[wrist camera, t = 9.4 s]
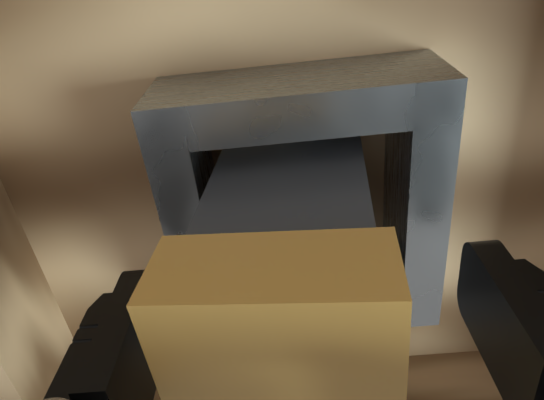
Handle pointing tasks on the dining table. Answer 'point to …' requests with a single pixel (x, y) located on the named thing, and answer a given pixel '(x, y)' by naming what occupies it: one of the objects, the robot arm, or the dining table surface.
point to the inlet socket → (318, 126)
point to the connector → (279, 284)
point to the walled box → (132, 173)
